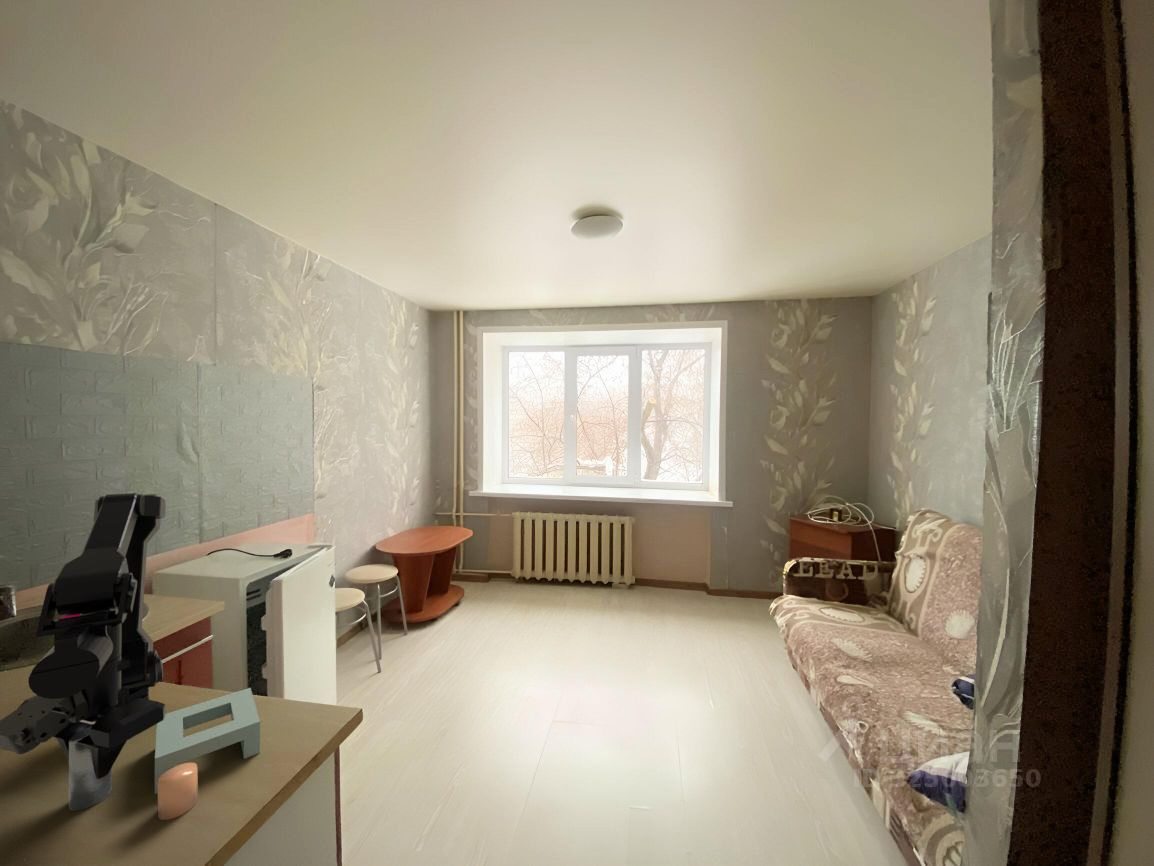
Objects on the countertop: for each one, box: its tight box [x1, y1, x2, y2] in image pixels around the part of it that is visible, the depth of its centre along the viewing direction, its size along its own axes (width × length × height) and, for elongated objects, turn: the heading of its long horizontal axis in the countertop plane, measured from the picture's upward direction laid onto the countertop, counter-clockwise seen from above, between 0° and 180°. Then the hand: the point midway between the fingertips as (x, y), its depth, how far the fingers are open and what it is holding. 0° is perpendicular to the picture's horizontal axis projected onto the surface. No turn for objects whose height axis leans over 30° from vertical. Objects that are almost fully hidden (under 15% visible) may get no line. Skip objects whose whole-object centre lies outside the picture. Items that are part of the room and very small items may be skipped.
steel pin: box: [68, 727, 113, 812], centre depth 61 cm, size 4×4×9 cm
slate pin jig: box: [154, 687, 261, 795], centre depth 70 cm, size 12×12×5 cm
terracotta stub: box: [157, 762, 199, 821], centre depth 60 cm, size 4×4×4 cm
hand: (91, 773), depth 61 cm, fingers closed on steel pin, 4 cm apart
